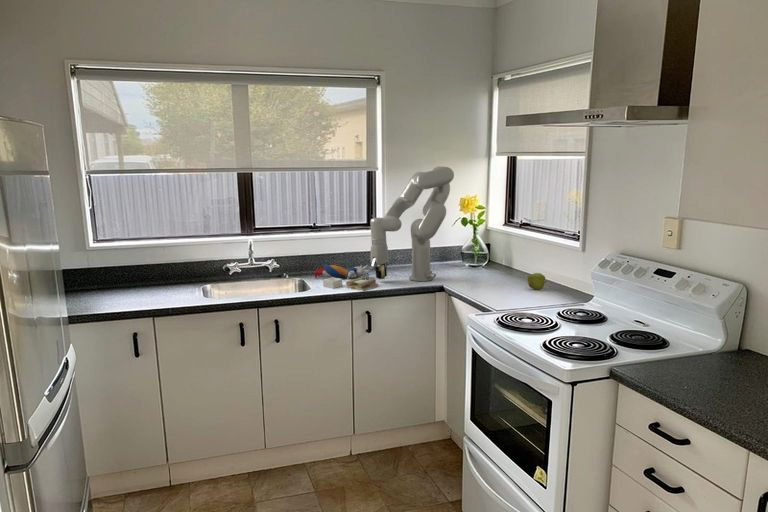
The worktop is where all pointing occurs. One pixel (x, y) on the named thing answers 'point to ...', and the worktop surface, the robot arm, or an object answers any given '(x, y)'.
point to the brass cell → (382, 271)
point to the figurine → (342, 271)
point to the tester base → (361, 284)
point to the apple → (536, 281)
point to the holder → (332, 282)
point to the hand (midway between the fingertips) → (381, 276)
